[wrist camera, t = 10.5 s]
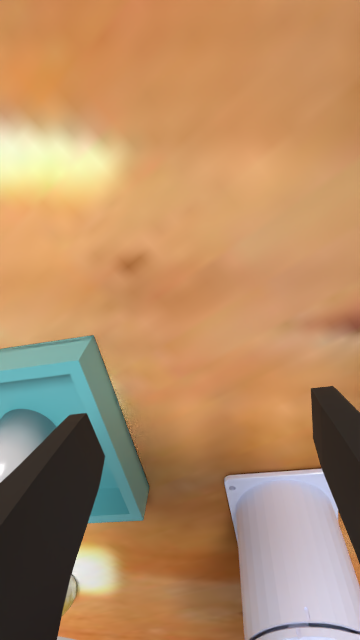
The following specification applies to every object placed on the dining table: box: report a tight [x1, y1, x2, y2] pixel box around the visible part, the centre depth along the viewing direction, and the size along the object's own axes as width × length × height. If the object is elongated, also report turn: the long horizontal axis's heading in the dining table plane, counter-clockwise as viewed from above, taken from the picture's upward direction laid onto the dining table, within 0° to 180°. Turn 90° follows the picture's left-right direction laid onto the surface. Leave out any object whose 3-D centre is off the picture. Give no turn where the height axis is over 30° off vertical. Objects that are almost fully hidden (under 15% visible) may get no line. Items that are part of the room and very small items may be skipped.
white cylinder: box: [0, 409, 56, 483], centre depth 22 cm, size 4×4×5 cm
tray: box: [0, 335, 149, 523], centre depth 24 cm, size 14×14×3 cm
